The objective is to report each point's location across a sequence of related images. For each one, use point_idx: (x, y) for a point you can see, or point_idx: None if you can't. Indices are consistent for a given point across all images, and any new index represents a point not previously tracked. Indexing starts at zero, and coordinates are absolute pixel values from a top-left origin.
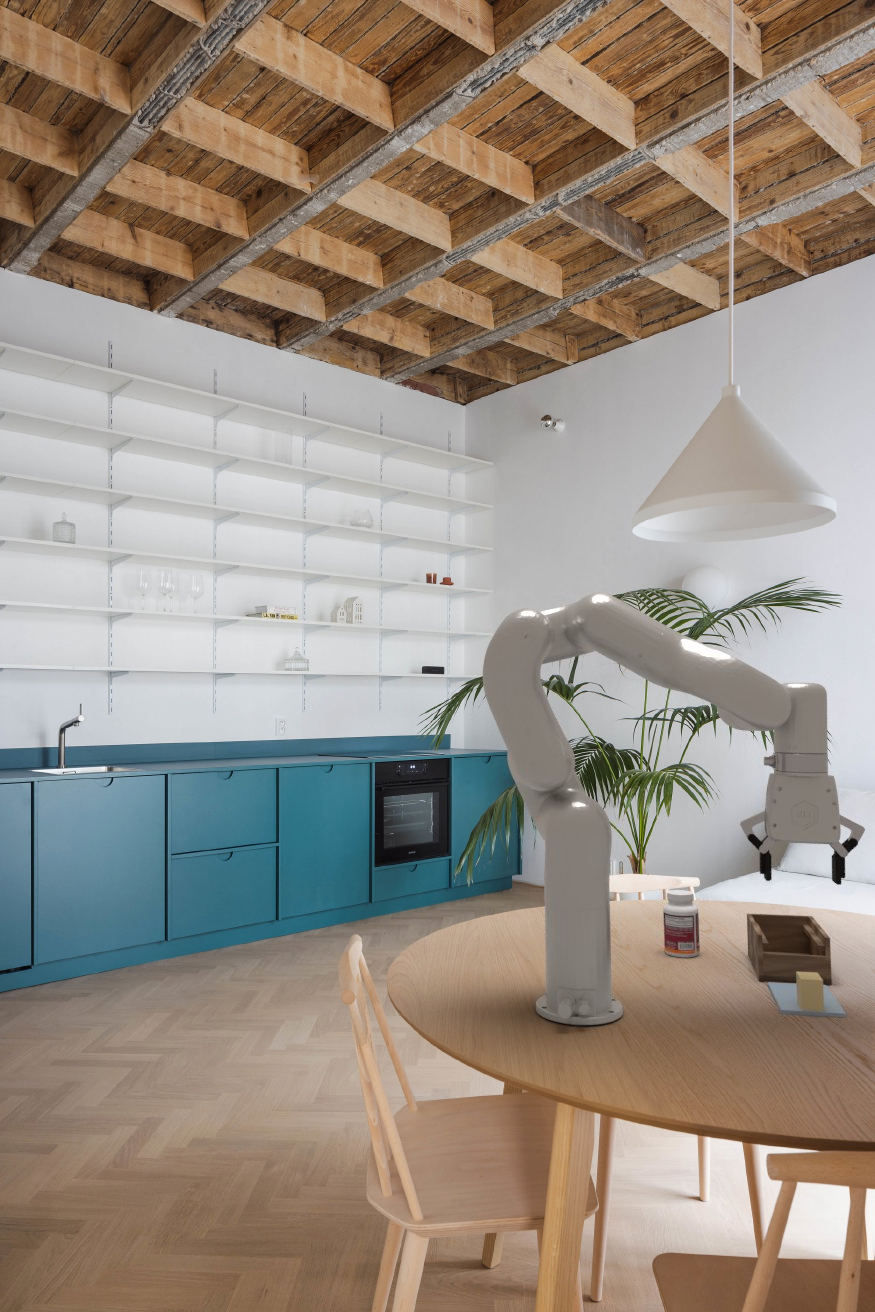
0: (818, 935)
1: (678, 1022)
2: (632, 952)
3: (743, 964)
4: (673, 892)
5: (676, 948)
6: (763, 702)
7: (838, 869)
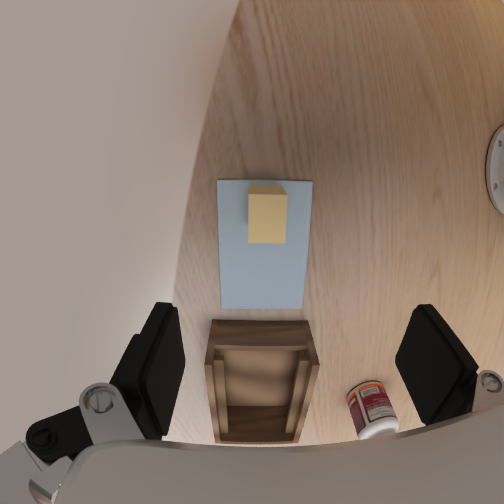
0: (216, 395)
1: (442, 135)
2: None
3: None
4: None
5: (379, 387)
6: None
7: (149, 339)
